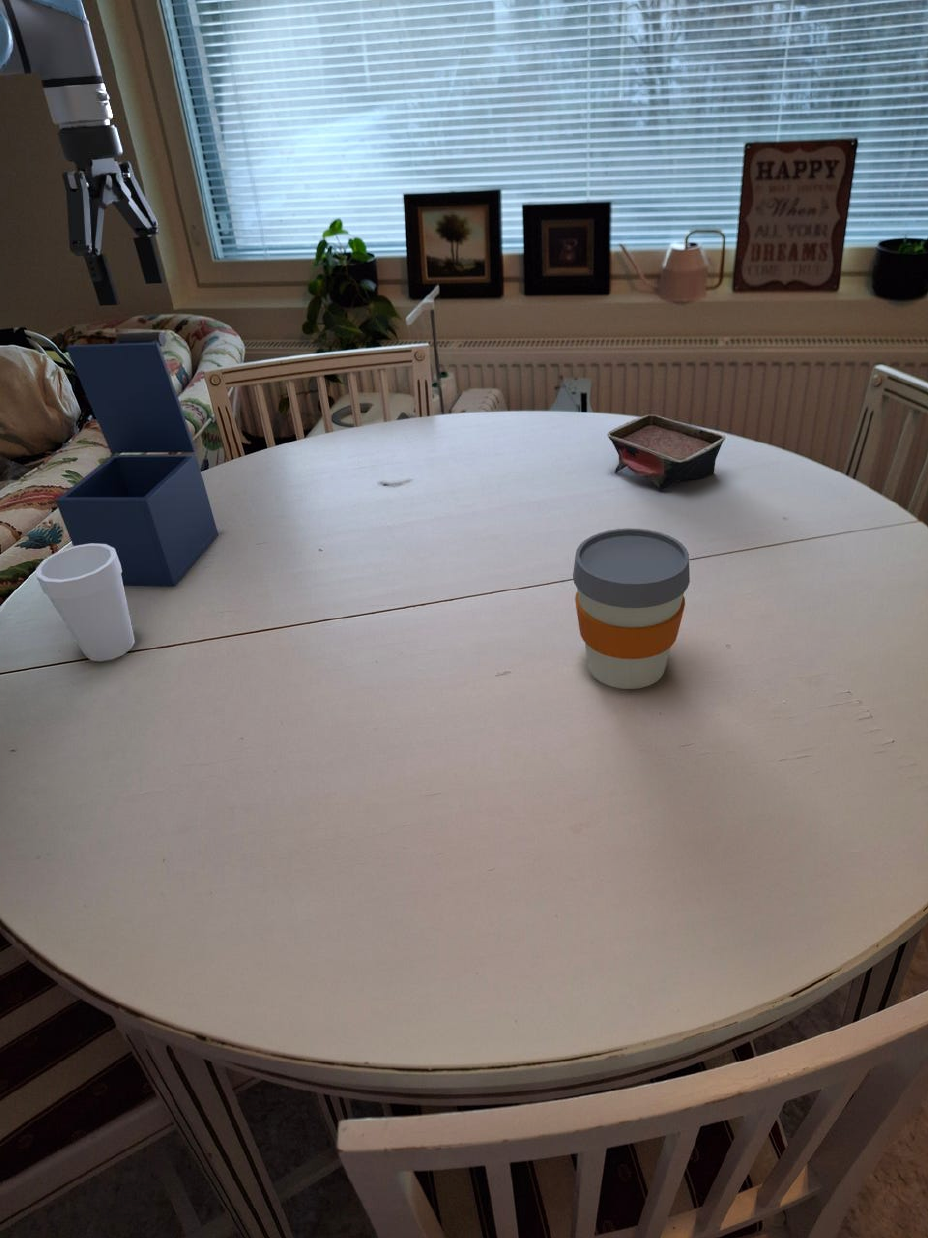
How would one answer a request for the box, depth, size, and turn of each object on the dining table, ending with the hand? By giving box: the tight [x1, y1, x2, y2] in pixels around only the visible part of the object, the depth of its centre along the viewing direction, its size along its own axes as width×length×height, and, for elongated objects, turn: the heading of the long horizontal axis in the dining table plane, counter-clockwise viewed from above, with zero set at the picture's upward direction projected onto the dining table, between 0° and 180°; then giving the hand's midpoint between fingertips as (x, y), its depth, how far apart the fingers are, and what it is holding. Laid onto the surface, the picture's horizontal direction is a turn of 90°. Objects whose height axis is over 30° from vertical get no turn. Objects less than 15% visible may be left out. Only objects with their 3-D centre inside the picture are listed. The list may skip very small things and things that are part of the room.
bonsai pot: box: [606, 413, 727, 491], centre depth 135 cm, size 14×18×10 cm
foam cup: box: [35, 543, 136, 662], centre depth 102 cm, size 10×9×13 cm
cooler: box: [54, 453, 219, 587], centre depth 122 cm, size 16×14×14 cm
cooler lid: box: [65, 331, 197, 454], centre depth 121 cm, size 17×14×9 cm
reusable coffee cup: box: [572, 528, 691, 690], centre depth 90 cm, size 13×13×15 cm
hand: (133, 293), depth 118 cm, fingers open, 13 cm apart
